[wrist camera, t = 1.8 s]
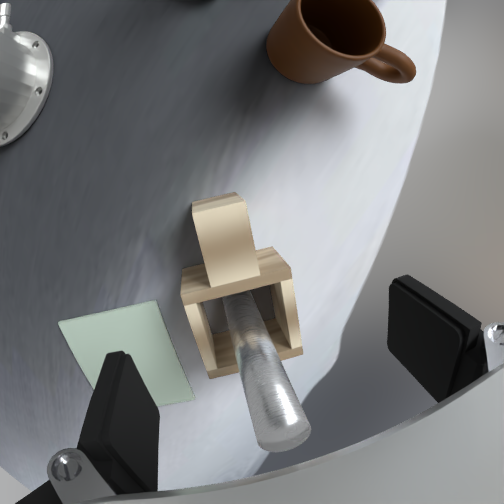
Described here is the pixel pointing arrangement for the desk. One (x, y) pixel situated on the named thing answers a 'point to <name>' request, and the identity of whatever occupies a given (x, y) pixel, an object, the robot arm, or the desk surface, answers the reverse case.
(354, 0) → the mug
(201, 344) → the beige wooden open box
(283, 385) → the post
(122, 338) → the mat
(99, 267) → the desk surface
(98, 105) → the desk surface
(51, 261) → the desk surface
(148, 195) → the desk surface
